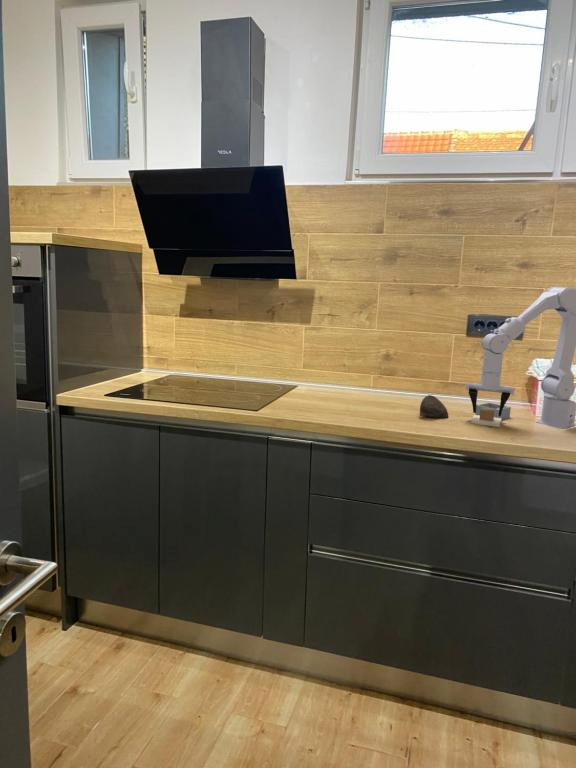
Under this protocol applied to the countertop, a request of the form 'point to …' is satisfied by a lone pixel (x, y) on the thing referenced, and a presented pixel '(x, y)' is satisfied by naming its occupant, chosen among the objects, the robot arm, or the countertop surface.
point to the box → (504, 413)
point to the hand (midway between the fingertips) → (487, 413)
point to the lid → (486, 418)
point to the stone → (432, 408)
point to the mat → (487, 425)
